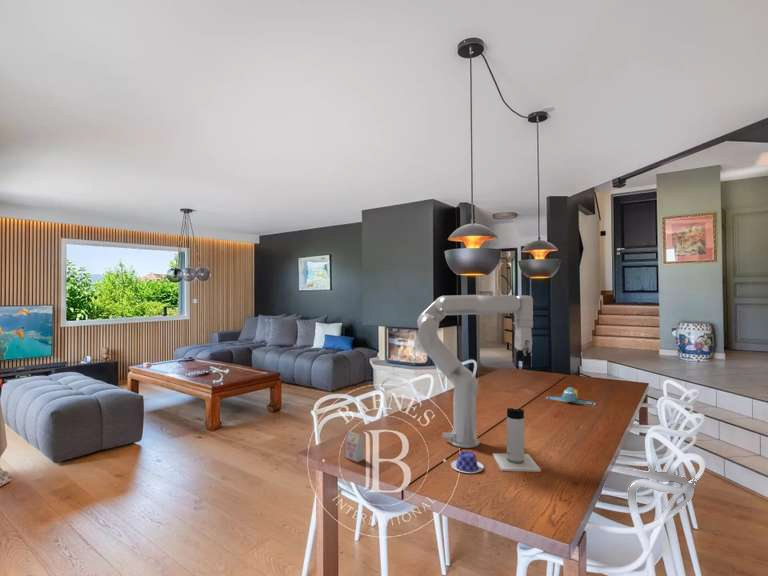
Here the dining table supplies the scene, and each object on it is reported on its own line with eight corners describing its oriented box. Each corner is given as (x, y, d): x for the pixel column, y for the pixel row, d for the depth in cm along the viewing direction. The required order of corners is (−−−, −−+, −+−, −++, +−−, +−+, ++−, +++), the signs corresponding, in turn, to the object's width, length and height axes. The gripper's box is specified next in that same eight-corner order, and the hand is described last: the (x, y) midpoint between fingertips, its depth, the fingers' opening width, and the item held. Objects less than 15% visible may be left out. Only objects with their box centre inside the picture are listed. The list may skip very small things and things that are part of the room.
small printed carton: (351, 454, 161) (351, 429, 161) (363, 459, 156) (363, 433, 156) (344, 457, 158) (344, 432, 158) (356, 462, 153) (356, 436, 154)
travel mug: (506, 462, 151) (506, 409, 151) (507, 456, 157) (507, 405, 157) (523, 465, 149) (523, 411, 149) (524, 458, 155) (524, 406, 155)
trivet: (501, 471, 146) (501, 468, 146) (492, 455, 160) (492, 453, 160) (540, 471, 146) (540, 469, 146) (528, 455, 160) (528, 453, 160)
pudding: (444, 463, 153) (444, 450, 153) (471, 459, 157) (471, 445, 157) (462, 477, 142) (462, 462, 142) (490, 471, 146) (490, 457, 146)
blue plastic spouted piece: (598, 388, 238) (594, 394, 226) (598, 403, 238) (594, 409, 226) (548, 382, 254) (542, 387, 242) (548, 396, 254) (542, 401, 242)
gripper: (509, 322, 184) (509, 359, 184) (521, 325, 167) (521, 366, 166) (526, 322, 184) (526, 359, 184) (539, 325, 166) (539, 366, 166)
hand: (523, 363), depth 175 cm, fingers open, 9 cm apart
